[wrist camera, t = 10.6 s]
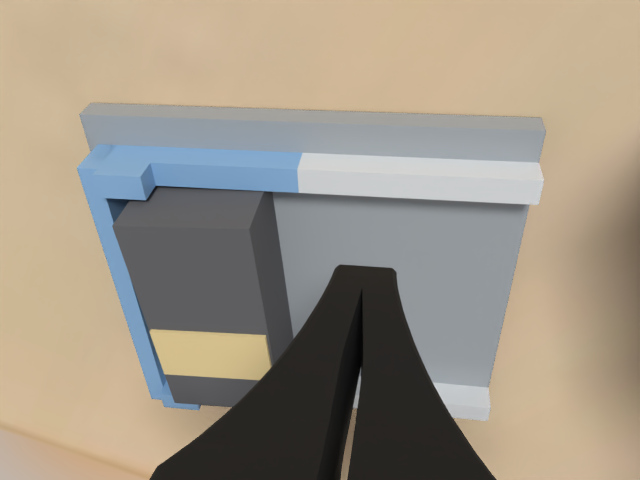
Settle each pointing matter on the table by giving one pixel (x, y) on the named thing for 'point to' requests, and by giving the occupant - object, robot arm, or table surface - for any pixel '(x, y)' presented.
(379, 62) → the table surface
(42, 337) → the table surface
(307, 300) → the tray
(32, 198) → the table surface
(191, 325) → the block
